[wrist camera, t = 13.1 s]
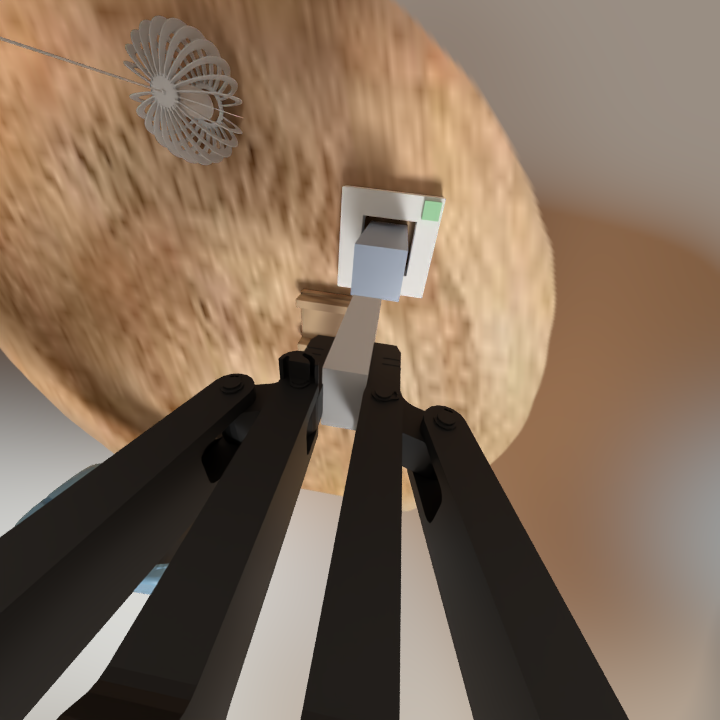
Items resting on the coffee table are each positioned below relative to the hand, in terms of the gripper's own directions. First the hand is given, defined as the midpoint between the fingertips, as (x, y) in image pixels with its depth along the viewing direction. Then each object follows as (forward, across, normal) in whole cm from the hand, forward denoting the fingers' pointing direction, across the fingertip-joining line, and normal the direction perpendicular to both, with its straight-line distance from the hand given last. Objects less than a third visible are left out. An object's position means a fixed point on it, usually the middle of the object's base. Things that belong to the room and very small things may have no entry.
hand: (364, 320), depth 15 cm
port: (+20, 0, 0) cm, 20 cm away
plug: (+20, 0, 0) cm, 20 cm away
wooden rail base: (+20, -6, -11) cm, 23 cm away
